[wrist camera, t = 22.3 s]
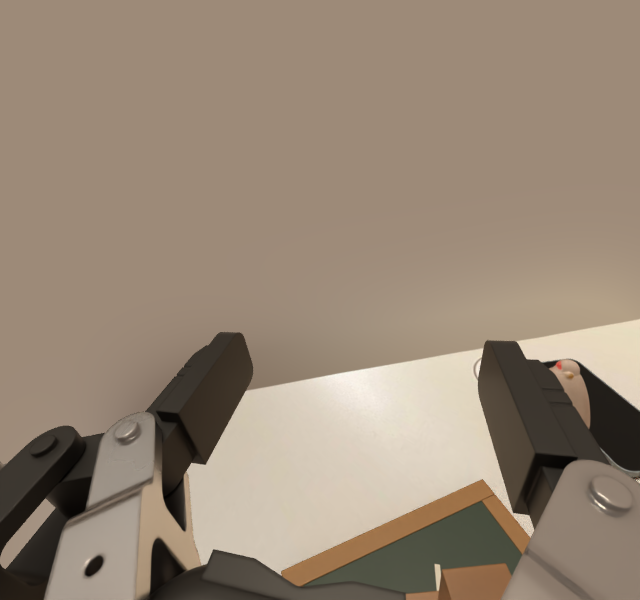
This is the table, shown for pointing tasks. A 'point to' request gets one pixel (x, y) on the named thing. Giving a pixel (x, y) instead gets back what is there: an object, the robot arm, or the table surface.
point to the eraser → (469, 584)
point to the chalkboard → (422, 545)
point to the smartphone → (612, 422)
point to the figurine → (573, 386)
